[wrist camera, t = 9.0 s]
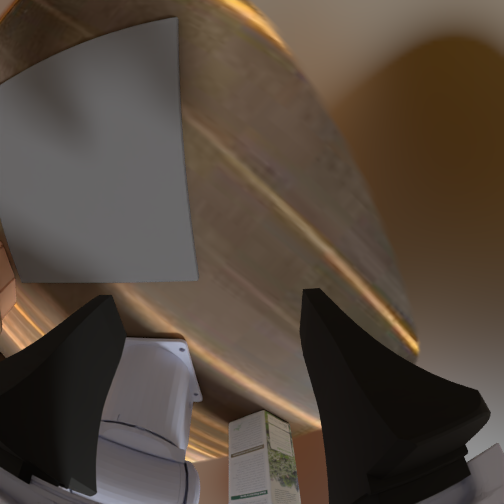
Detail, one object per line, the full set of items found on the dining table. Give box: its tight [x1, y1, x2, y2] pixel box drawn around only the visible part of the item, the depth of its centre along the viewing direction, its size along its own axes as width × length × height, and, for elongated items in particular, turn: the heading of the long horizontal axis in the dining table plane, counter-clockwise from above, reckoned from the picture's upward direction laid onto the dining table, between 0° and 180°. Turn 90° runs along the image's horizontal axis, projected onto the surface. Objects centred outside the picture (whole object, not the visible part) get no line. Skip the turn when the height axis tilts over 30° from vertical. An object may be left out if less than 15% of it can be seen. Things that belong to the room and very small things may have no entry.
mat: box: [0, 17, 199, 283], centre depth 16 cm, size 18×18×1 cm
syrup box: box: [229, 410, 301, 504], centre depth 24 cm, size 6×6×14 cm
